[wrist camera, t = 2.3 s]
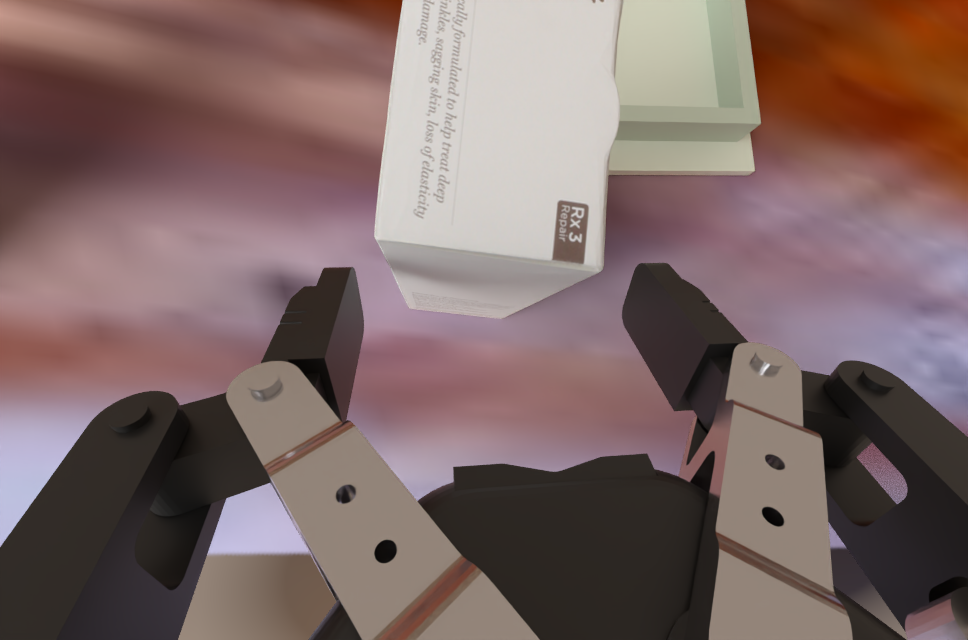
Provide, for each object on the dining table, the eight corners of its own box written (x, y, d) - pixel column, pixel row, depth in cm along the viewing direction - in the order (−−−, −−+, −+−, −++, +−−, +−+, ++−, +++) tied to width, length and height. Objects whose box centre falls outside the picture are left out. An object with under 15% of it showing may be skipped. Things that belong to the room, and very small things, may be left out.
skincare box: (424, 181, 25) (399, -96, 10) (521, 194, 25) (635, -49, 10) (407, 317, 23) (352, 235, 9) (509, 328, 24) (618, 267, 9)
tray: (542, 174, 25) (553, 153, 23) (525, -79, 27) (534, -125, 25) (748, 175, 27) (780, 155, 24) (717, -65, 29) (744, -107, 26)
